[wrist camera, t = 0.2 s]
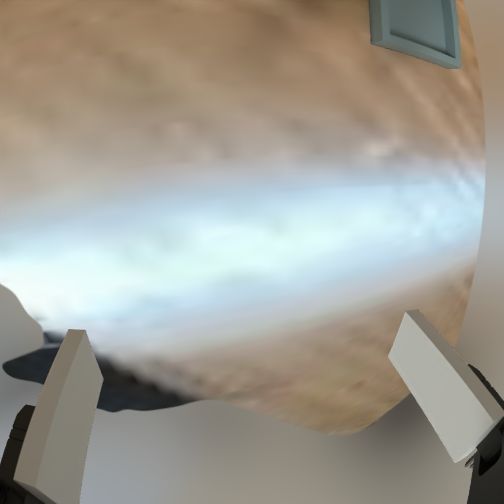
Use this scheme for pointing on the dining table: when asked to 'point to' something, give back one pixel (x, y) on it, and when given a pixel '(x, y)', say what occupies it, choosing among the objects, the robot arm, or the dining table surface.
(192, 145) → the dining table surface
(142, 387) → the dining table surface
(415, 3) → the tray
